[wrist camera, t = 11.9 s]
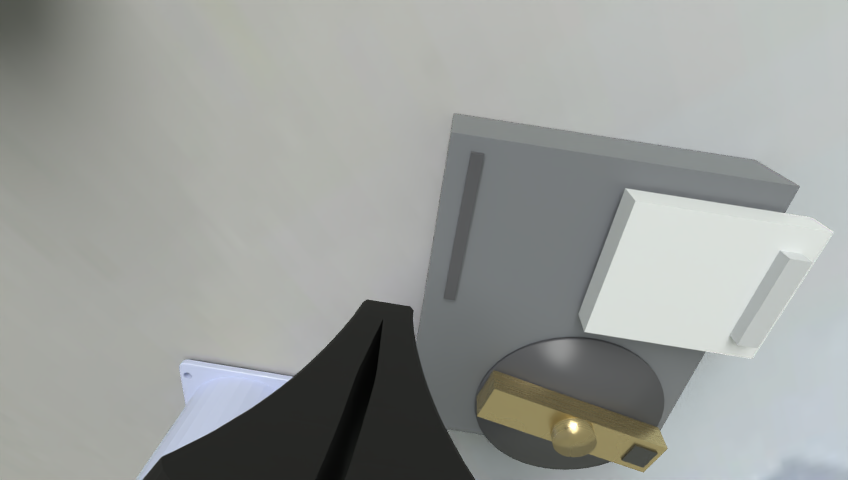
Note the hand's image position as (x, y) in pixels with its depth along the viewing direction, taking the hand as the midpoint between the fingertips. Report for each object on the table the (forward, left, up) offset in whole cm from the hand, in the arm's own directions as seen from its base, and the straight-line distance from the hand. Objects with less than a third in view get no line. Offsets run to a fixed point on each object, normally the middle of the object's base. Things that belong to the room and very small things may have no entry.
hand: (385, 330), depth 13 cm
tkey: (-9, -9, -7) cm, 14 cm away
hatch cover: (0, -11, -7) cm, 13 cm away
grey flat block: (-4, -8, -10) cm, 13 cm away
